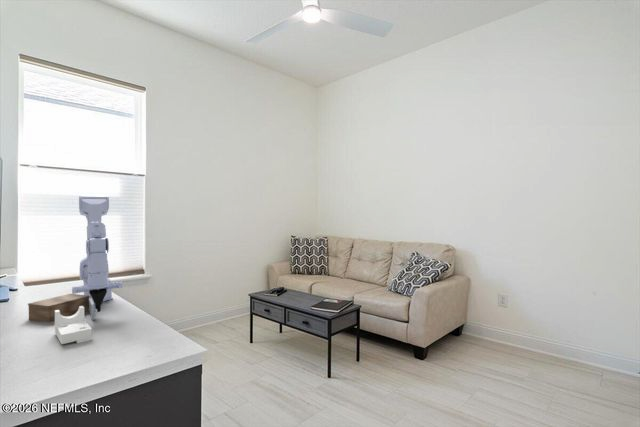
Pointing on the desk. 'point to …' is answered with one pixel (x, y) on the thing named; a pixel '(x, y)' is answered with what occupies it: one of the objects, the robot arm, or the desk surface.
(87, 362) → the desk surface
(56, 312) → the bracket
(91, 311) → the door
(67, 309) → the cabinet
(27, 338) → the desk surface
